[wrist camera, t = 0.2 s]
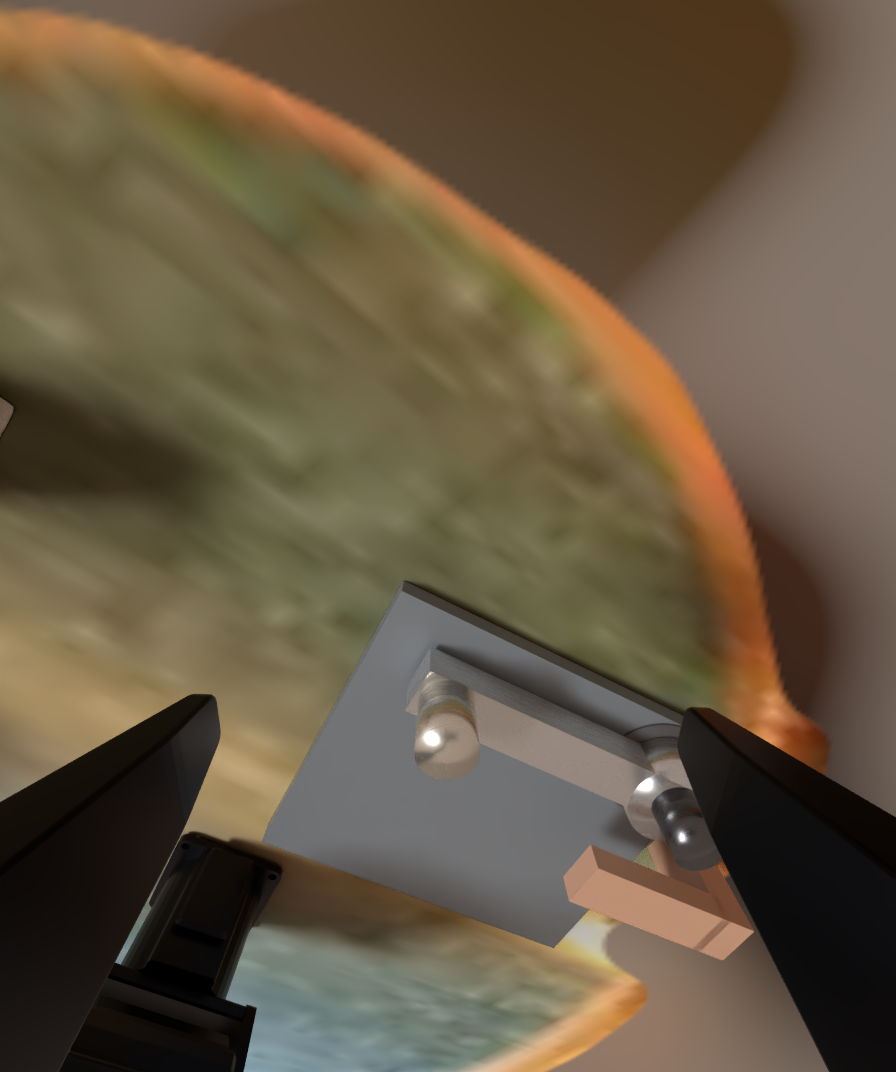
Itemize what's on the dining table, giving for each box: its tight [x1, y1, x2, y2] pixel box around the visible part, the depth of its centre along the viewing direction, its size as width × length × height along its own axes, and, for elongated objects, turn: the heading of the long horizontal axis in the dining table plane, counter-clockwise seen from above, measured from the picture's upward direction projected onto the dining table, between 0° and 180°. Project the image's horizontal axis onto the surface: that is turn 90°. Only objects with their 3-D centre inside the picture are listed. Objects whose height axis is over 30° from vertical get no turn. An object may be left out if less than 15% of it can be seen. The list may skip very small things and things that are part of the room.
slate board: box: [262, 581, 683, 948], centre depth 27 cm, size 18×20×1 cm
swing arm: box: [405, 647, 722, 871], centre depth 22 cm, size 17×5×5 cm, turn 62°
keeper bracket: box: [563, 840, 754, 960], centre depth 26 cm, size 2×10×6 cm, turn 62°
